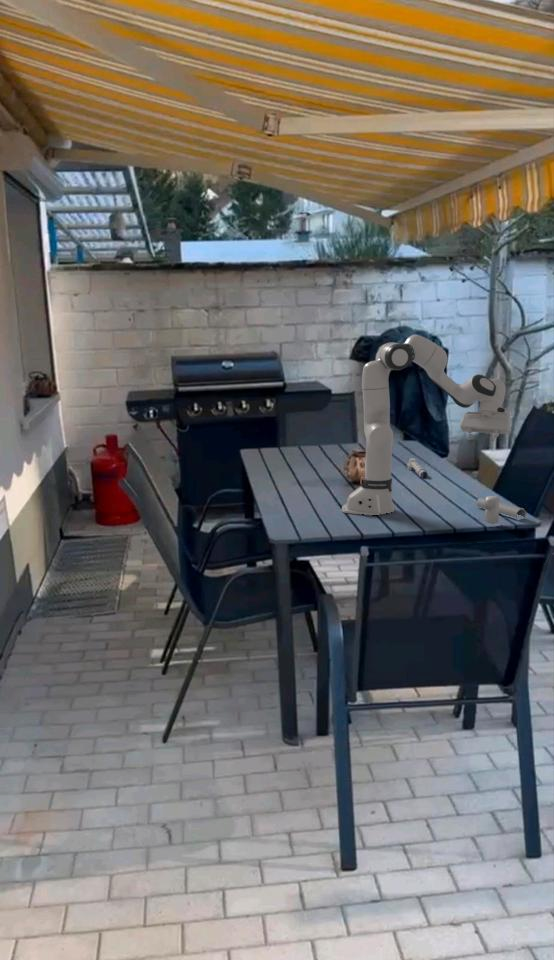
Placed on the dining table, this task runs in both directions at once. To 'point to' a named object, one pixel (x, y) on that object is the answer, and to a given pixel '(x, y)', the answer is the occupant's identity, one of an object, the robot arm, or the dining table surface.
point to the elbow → (491, 509)
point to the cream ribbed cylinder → (417, 468)
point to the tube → (505, 508)
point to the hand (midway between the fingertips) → (480, 439)
